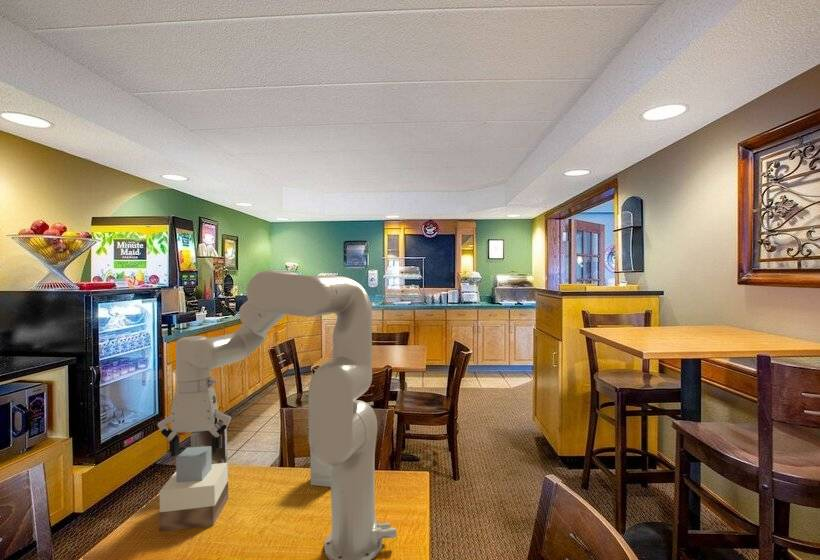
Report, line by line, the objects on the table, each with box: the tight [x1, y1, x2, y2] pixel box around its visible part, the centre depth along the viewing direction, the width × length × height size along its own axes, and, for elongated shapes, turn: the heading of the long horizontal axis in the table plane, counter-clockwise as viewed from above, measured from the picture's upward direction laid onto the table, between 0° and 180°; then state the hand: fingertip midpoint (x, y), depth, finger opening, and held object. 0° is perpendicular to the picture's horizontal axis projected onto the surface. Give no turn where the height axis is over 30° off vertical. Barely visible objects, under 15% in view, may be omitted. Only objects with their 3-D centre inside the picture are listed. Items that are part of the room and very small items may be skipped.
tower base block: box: [158, 480, 229, 532], centre depth 100 cm, size 12×12×5 cm
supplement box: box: [309, 447, 331, 488], centre depth 115 cm, size 7×7×13 cm
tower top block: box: [159, 463, 229, 512], centre depth 100 cm, size 12×12×5 cm
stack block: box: [175, 446, 212, 482], centre depth 100 cm, size 6×6×6 cm
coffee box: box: [190, 421, 229, 476], centre depth 116 cm, size 9×6×16 cm
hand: (195, 452), depth 100 cm, fingers open, 9 cm apart
